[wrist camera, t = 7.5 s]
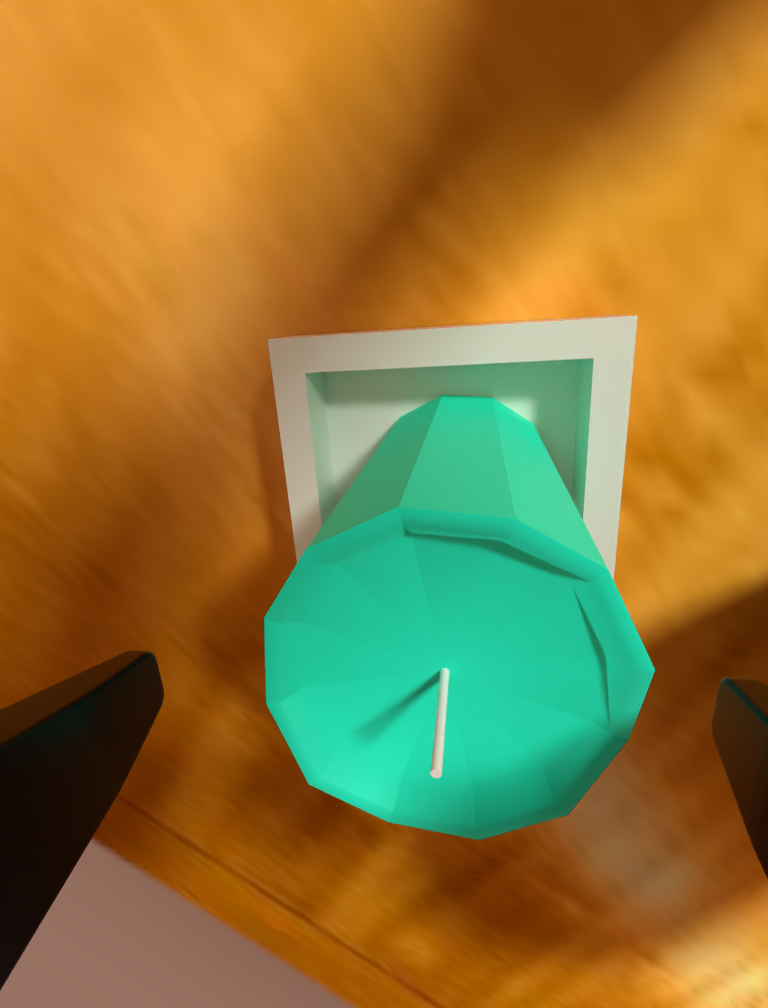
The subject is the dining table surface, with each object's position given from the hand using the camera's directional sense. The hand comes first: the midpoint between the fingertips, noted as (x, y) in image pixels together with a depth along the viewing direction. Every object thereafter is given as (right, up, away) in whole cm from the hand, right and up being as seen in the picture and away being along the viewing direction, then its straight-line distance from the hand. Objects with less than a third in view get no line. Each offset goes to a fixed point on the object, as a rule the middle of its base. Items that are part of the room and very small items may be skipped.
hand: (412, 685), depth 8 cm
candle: (+2, +4, +9) cm, 10 cm away
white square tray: (+2, +4, +10) cm, 11 cm away
